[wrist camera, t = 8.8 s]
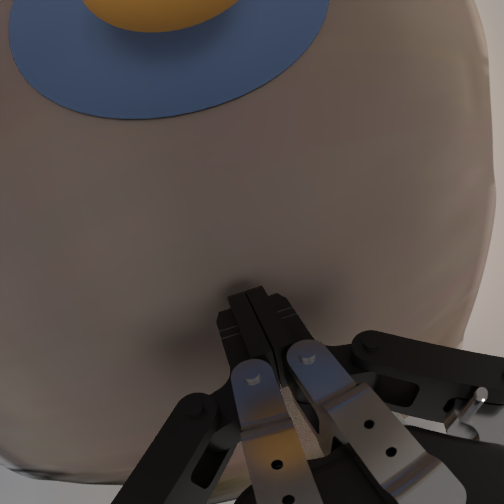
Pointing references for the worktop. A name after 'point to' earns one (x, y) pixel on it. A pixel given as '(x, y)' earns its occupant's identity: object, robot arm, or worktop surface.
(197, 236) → the worktop surface
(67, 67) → the disc
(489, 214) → the worktop surface
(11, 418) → the worktop surface
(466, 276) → the worktop surface
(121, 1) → the ball
